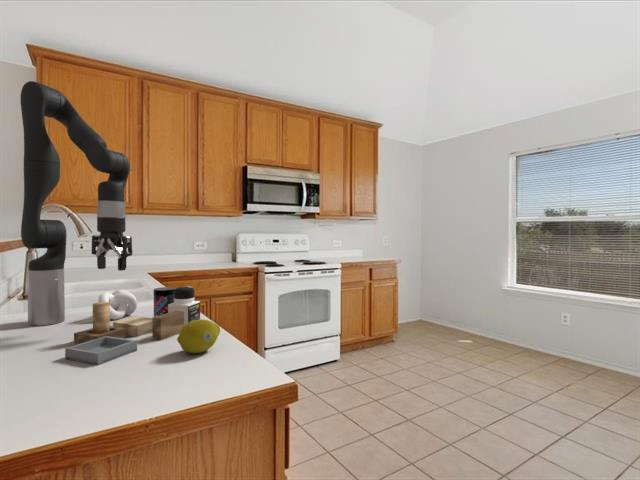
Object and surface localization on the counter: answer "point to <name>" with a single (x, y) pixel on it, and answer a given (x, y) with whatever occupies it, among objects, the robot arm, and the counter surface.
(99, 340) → the tray
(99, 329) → the dowel
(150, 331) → the light wooden block
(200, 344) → the lemon
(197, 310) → the medicine bottle
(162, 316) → the block
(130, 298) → the white knot sculpture
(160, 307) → the supplement container
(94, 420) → the counter surface
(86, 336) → the socket block
